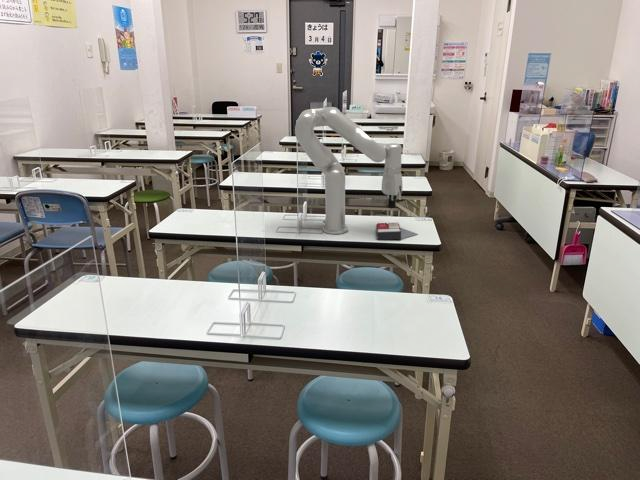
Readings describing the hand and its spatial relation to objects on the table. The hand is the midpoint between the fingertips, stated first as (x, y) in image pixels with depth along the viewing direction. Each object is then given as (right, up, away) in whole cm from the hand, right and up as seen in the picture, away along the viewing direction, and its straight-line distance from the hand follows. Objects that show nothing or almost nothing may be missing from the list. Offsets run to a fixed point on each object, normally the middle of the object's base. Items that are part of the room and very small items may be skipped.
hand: (391, 207), depth 231 cm
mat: (+4, -13, -2) cm, 13 cm away
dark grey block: (-2, -9, +3) cm, 10 cm away
